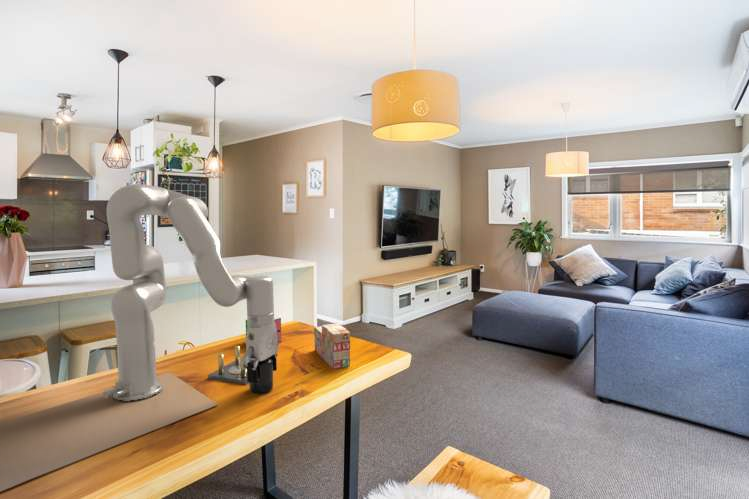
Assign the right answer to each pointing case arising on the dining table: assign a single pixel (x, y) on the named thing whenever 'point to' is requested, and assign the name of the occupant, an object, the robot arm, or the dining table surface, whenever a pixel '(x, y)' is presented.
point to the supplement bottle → (263, 377)
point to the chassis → (231, 370)
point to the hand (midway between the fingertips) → (262, 376)
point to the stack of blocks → (333, 344)
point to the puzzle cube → (278, 327)
